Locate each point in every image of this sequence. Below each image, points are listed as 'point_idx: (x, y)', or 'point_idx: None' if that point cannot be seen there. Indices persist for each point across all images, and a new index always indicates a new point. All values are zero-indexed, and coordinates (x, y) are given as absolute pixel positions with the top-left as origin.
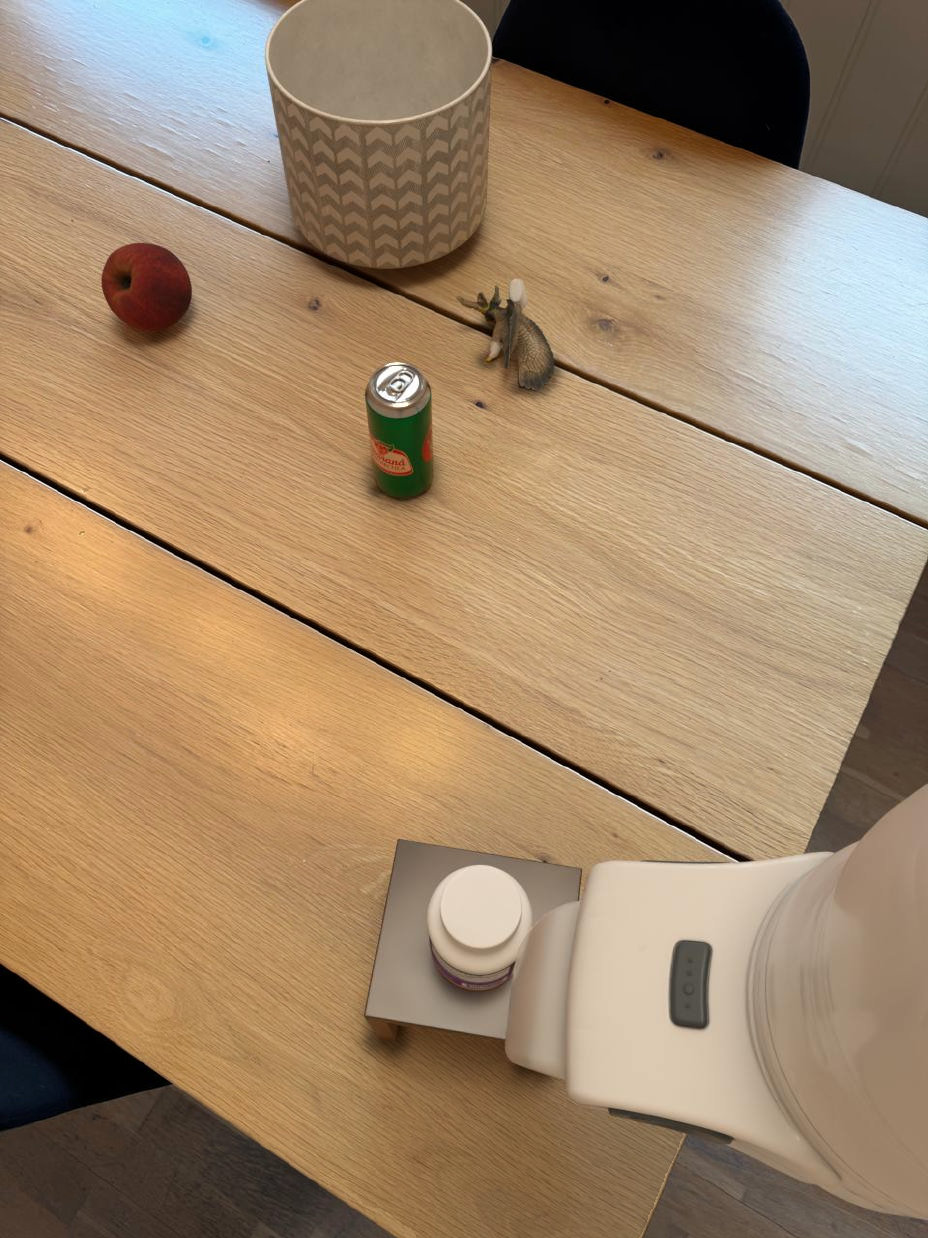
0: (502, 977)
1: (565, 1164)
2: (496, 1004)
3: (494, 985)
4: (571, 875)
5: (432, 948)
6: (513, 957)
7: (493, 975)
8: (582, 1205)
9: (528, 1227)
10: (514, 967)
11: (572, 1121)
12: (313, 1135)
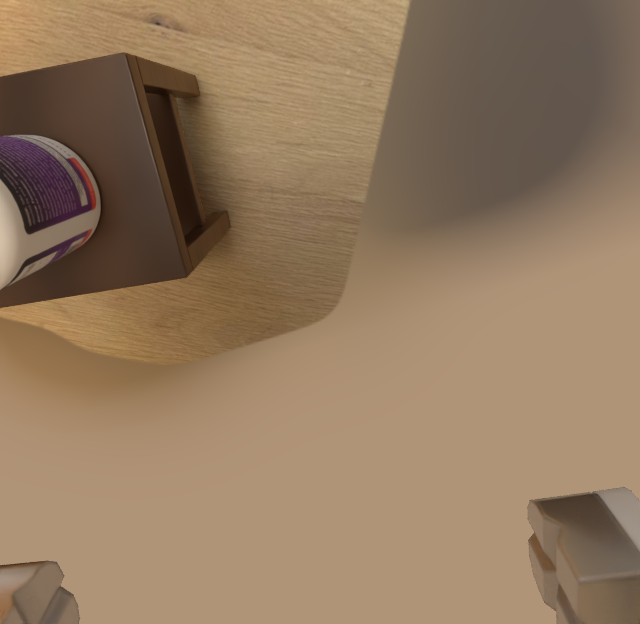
0: (58, 253)
1: (273, 292)
2: (99, 256)
3: (74, 248)
4: (115, 68)
5: None
6: (6, 267)
7: (18, 279)
8: (294, 315)
9: (259, 340)
10: (65, 238)
11: (268, 261)
12: (75, 335)
